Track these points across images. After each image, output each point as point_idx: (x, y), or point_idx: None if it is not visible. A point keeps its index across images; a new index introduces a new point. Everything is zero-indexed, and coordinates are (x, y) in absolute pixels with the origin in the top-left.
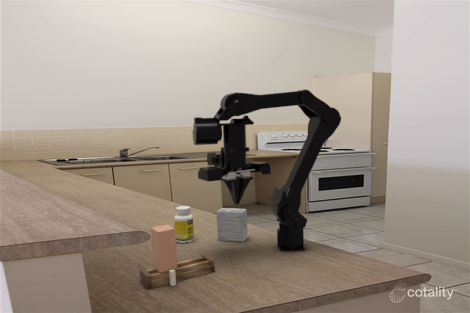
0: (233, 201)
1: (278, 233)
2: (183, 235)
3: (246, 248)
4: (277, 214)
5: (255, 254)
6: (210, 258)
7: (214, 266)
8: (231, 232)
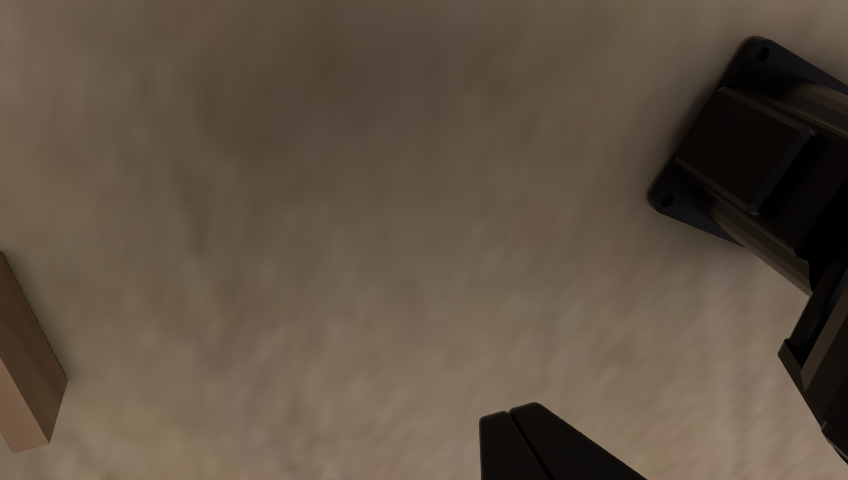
0: (480, 459)
1: (742, 207)
2: None
3: (471, 18)
4: (821, 414)
5: (465, 185)
6: (20, 412)
7: (59, 408)
8: None
